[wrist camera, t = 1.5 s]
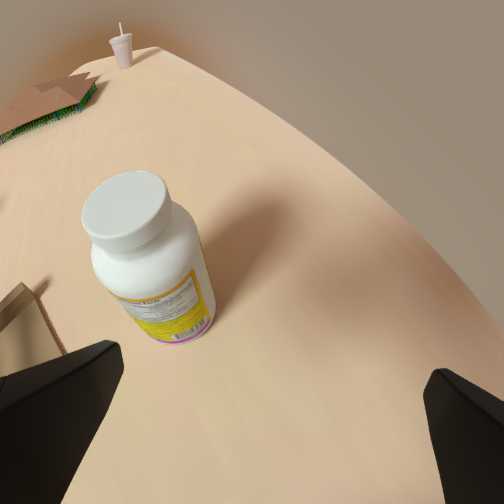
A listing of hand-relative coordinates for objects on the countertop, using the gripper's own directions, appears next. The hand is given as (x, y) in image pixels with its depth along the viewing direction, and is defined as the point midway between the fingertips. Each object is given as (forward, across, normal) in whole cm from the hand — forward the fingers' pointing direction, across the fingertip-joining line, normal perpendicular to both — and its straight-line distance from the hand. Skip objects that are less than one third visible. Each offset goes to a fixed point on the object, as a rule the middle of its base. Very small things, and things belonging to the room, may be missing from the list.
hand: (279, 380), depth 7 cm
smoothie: (+65, +44, -34) cm, 86 cm away
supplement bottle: (+15, +8, +7) cm, 18 cm away
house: (+49, +59, -20) cm, 79 cm away
